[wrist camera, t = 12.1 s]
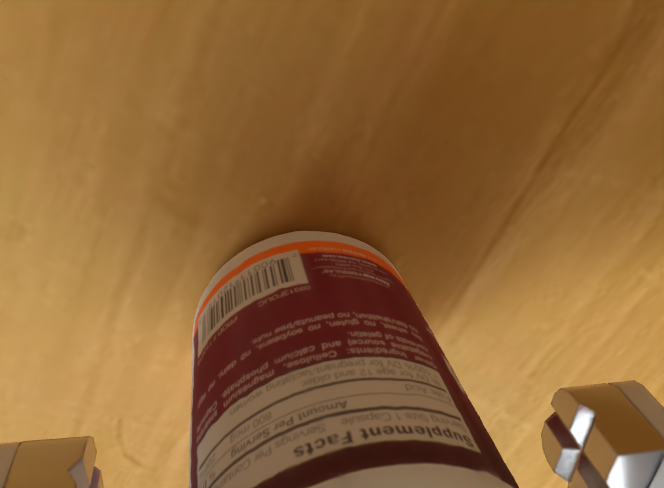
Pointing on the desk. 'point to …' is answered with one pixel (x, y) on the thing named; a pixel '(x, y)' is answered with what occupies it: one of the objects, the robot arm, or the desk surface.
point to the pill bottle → (326, 378)
